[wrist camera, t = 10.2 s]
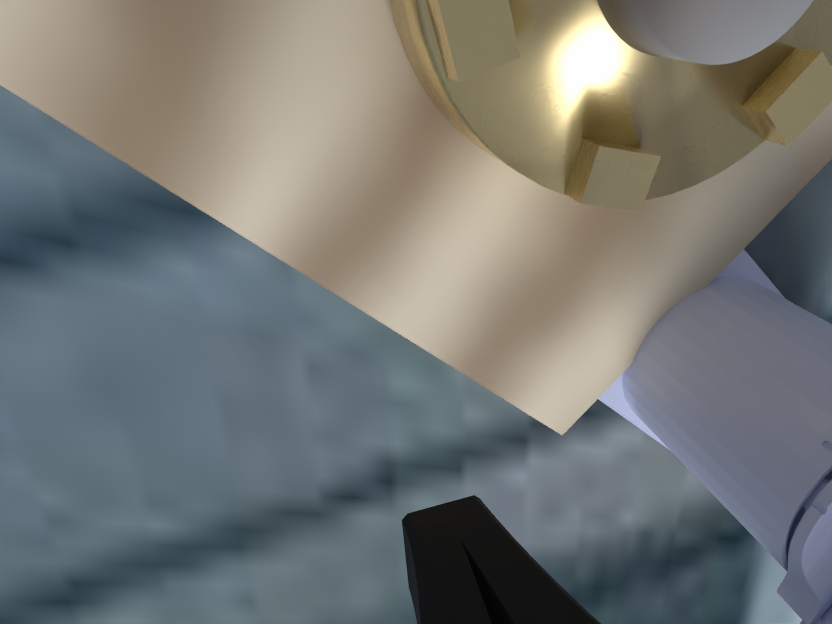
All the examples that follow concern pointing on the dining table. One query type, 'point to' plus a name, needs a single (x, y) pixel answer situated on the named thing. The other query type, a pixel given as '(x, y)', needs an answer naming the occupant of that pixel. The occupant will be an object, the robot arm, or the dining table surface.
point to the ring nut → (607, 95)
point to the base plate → (408, 173)
